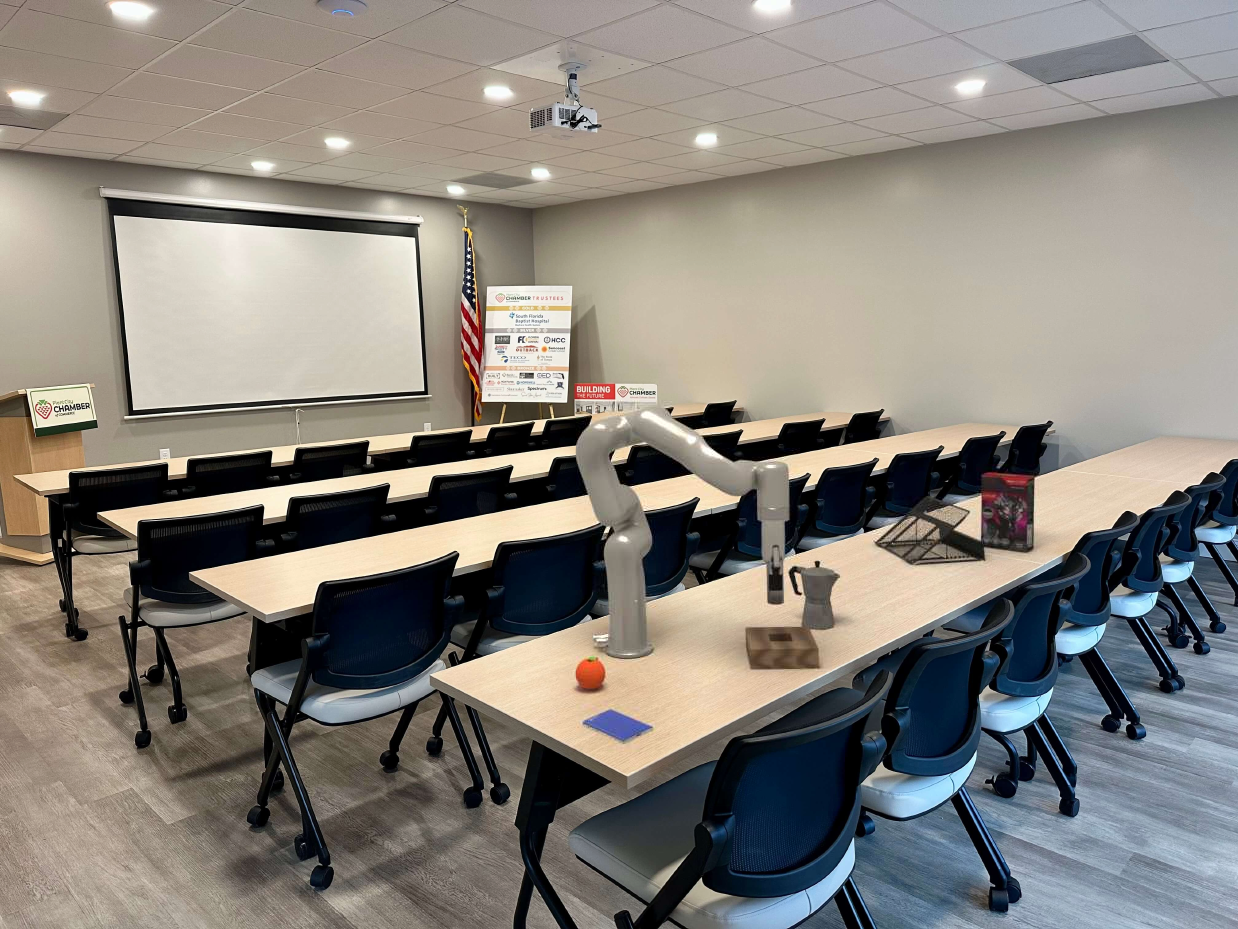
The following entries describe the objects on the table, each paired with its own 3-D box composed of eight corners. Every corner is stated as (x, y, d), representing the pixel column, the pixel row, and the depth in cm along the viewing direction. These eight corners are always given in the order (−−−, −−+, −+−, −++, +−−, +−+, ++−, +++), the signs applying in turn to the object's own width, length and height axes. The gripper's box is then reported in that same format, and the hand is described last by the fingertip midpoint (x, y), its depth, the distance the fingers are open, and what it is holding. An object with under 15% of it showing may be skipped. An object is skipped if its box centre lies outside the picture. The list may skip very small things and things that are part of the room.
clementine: (585, 679, 197) (584, 650, 196) (612, 682, 194) (611, 653, 193) (571, 692, 190) (569, 662, 189) (598, 695, 187) (597, 665, 186)
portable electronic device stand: (872, 545, 319) (872, 498, 317) (942, 541, 322) (942, 494, 319) (909, 567, 287) (910, 514, 284) (987, 562, 289) (988, 510, 287)
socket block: (750, 669, 199) (750, 649, 198) (745, 646, 215) (745, 627, 214) (818, 668, 198) (818, 648, 197) (808, 645, 213) (808, 626, 213)
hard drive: (582, 721, 172) (623, 739, 163) (611, 708, 178) (653, 725, 169) (582, 728, 172) (624, 747, 163) (611, 715, 178) (653, 733, 169)
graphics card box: (979, 546, 309) (980, 474, 306) (987, 543, 314) (988, 471, 310) (1026, 553, 297) (1028, 477, 293) (1034, 550, 301) (1036, 475, 298)
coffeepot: (848, 624, 228) (847, 560, 226) (832, 634, 221) (831, 567, 219) (797, 614, 238) (797, 553, 236) (780, 623, 231) (780, 560, 229)
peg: (767, 604, 200) (766, 556, 199) (766, 600, 204) (765, 552, 203) (784, 604, 200) (783, 555, 198) (783, 599, 204) (782, 551, 202)
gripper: (755, 507, 208) (757, 578, 210) (759, 520, 192) (761, 598, 194) (786, 506, 207) (787, 578, 210) (792, 519, 191) (794, 597, 193)
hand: (775, 587), depth 202 cm, fingers closed on peg, 4 cm apart
